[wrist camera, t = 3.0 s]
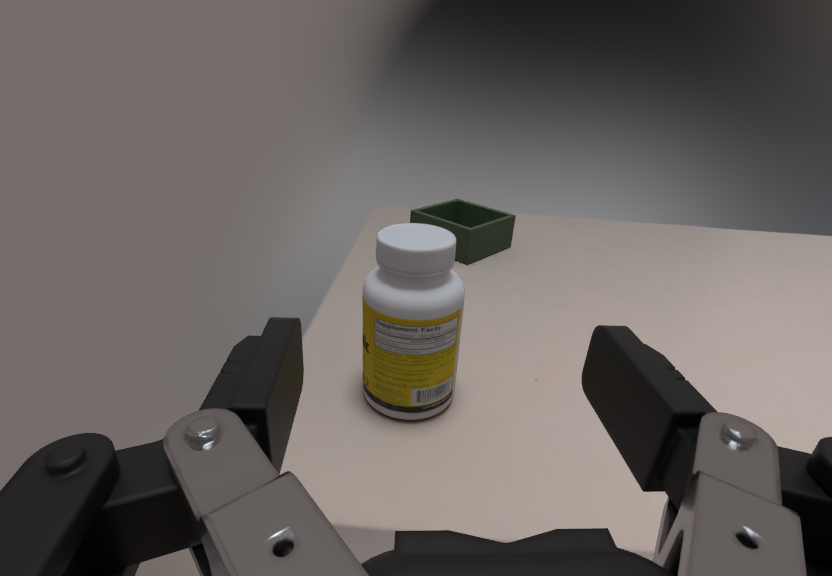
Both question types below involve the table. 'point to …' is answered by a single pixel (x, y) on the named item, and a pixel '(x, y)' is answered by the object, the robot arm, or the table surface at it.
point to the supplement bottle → (412, 322)
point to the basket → (469, 227)
